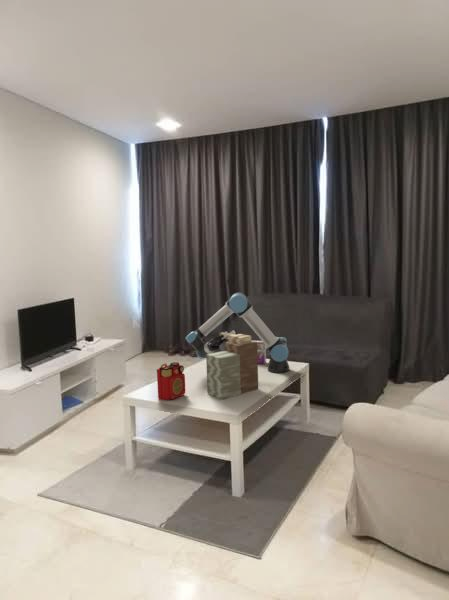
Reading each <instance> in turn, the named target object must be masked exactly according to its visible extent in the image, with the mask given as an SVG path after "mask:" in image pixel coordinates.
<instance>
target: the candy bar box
mask: <svg viewBox="0 0 449 600" xmlns="http://www.w3.org/2000/svg"><path fill="white" fill-rule="evenodd" d="M253 341H254V342H257V352H258V365H261V364H262V365H265V364H267V350H266V349H265V344H264V343H263V341H262V340H253Z"/></svg>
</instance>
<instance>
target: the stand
mask: <svg viewBox="0 0 449 600" xmlns="http://www.w3.org/2000/svg"><path fill="white" fill-rule="evenodd" d="M254 341H255V340H251V343H246V344H242V345H241V344H236V343H232V342H230V341H229V342H225V351H214V352H213V353H210V354H206V363H205V364H206V386H207V388H206V389H207V395H209V396H212V397H215V398H218V399H219V400H225V399H229V398H232V397H235V396H240V395H243V394H247V393H249V392H253V391H257V390H259V364H258V352H257V342H254Z"/></svg>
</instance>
